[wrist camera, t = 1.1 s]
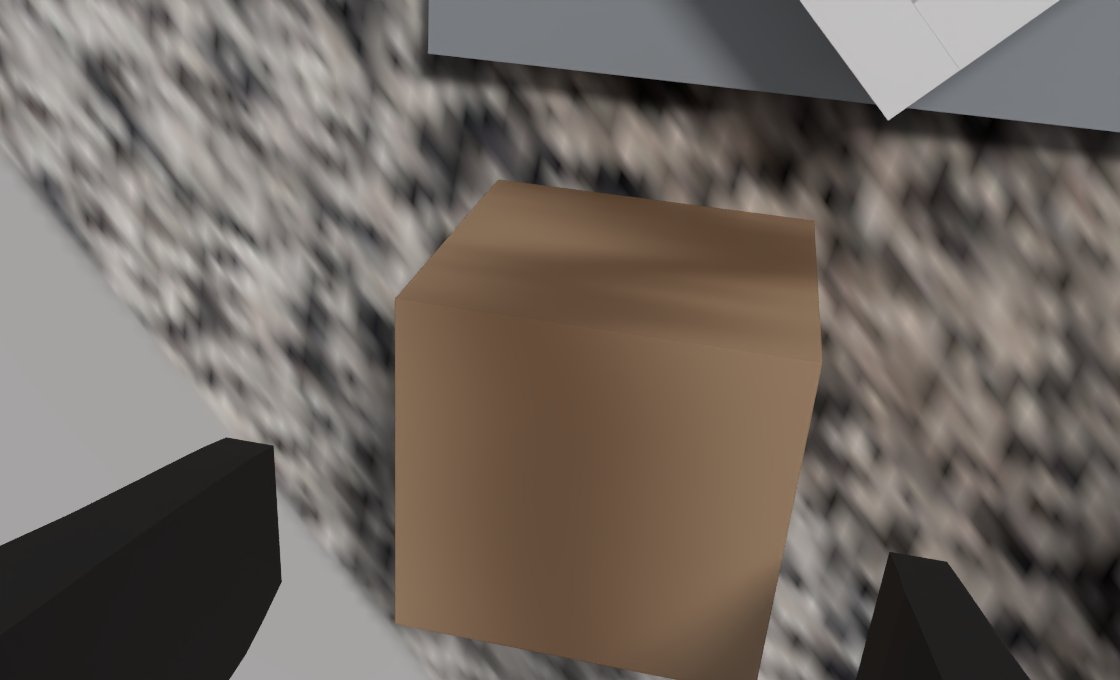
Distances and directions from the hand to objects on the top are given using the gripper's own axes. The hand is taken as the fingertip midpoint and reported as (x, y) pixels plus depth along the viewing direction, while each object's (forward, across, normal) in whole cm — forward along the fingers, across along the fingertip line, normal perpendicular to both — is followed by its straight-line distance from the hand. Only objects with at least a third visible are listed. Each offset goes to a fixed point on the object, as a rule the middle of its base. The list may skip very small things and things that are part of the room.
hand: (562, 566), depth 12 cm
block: (+6, 0, 0) cm, 6 cm away
